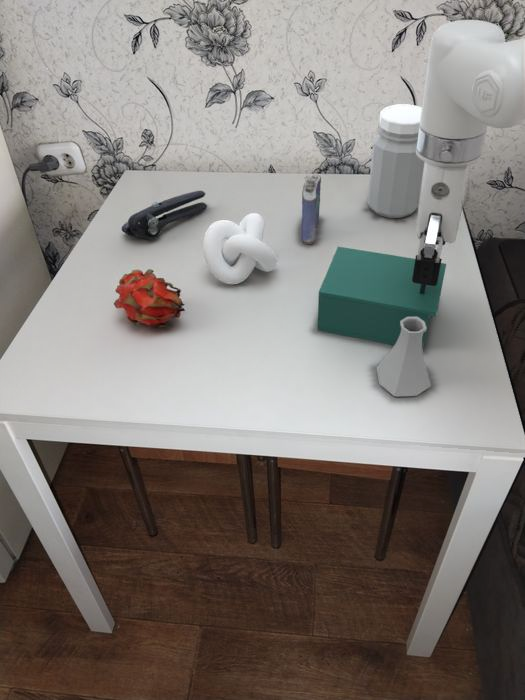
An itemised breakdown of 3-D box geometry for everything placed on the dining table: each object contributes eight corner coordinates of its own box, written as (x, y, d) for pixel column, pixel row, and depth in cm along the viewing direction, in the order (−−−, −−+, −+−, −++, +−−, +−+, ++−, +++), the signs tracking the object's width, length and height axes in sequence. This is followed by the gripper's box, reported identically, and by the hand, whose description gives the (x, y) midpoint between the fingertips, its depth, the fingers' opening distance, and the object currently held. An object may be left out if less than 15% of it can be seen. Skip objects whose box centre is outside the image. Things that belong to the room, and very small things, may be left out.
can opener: (140, 251, 105) (134, 224, 101) (119, 235, 109) (113, 208, 105) (218, 213, 113) (215, 187, 109) (196, 200, 117) (193, 174, 113)
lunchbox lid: (445, 266, 87) (451, 240, 84) (436, 316, 80) (442, 289, 77) (337, 249, 92) (339, 223, 88) (318, 294, 84) (319, 268, 81)
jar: (415, 223, 108) (431, 128, 96) (362, 216, 111) (371, 122, 98) (421, 197, 115) (437, 104, 102) (371, 191, 117) (381, 99, 105)
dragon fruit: (123, 309, 96) (186, 339, 93) (92, 312, 88) (159, 345, 85) (139, 260, 94) (203, 289, 91) (109, 259, 86) (178, 290, 83)
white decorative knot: (293, 264, 101) (293, 218, 95) (253, 302, 94) (251, 255, 88) (240, 244, 106) (236, 199, 99) (198, 279, 99) (191, 234, 92)
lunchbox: (432, 301, 92) (440, 265, 88) (422, 350, 85) (430, 315, 80) (335, 284, 96) (337, 249, 92) (317, 330, 89) (318, 295, 84)
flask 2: (315, 245, 105) (316, 190, 97) (298, 244, 105) (298, 189, 98) (320, 217, 111) (322, 164, 104) (305, 216, 111) (305, 163, 104)
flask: (440, 390, 79) (454, 336, 72) (391, 404, 78) (400, 350, 71) (414, 354, 84) (424, 300, 77) (367, 367, 83) (374, 313, 76)
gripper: (478, 179, 62) (450, 305, 74) (488, 115, 74) (463, 232, 86) (406, 171, 64) (390, 295, 76) (427, 110, 76) (410, 226, 88)
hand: (429, 262), depth 81 cm, fingers open, 9 cm apart
